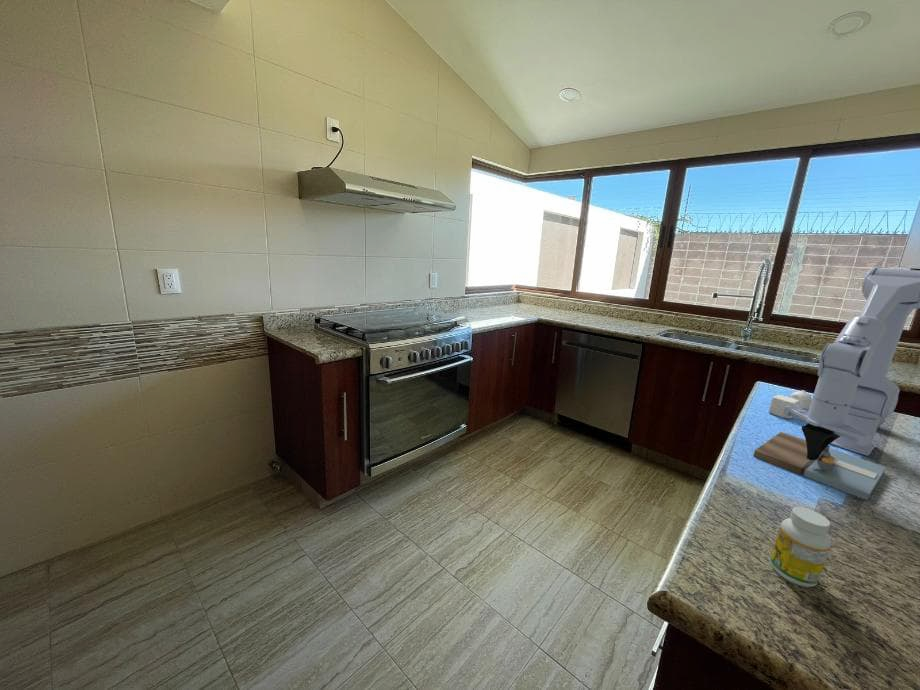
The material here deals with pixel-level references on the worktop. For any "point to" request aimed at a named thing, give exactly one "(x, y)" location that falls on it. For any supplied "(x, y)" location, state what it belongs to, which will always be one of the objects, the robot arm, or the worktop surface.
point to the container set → (789, 403)
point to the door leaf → (848, 474)
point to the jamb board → (785, 452)
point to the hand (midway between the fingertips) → (812, 459)
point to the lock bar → (826, 460)
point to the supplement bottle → (802, 547)
